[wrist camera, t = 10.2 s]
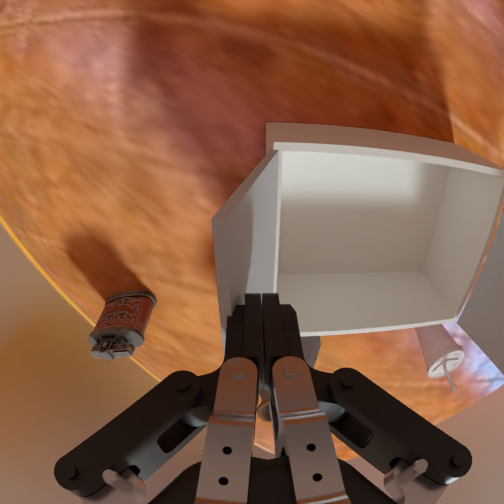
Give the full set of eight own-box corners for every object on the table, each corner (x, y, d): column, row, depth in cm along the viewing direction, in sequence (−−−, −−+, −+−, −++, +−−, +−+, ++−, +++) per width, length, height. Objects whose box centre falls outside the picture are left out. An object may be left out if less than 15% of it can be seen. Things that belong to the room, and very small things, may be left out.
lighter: (113, 313, 40) (91, 366, 32) (102, 296, 39) (76, 348, 30) (160, 306, 39) (143, 364, 31) (150, 287, 38) (128, 344, 29)
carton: (454, 143, 27) (510, 172, 19) (422, 271, 37) (455, 321, 28) (265, 122, 27) (273, 142, 19) (263, 275, 37) (266, 337, 28)
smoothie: (405, 313, 41) (440, 386, 29) (441, 298, 40) (481, 366, 28) (406, 338, 44) (435, 406, 32) (438, 324, 43) (472, 389, 31)
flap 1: (225, 220, 10) (211, 219, 10) (240, 439, 19) (234, 437, 19) (278, 150, 18) (271, 149, 19) (270, 339, 28) (265, 338, 28)
